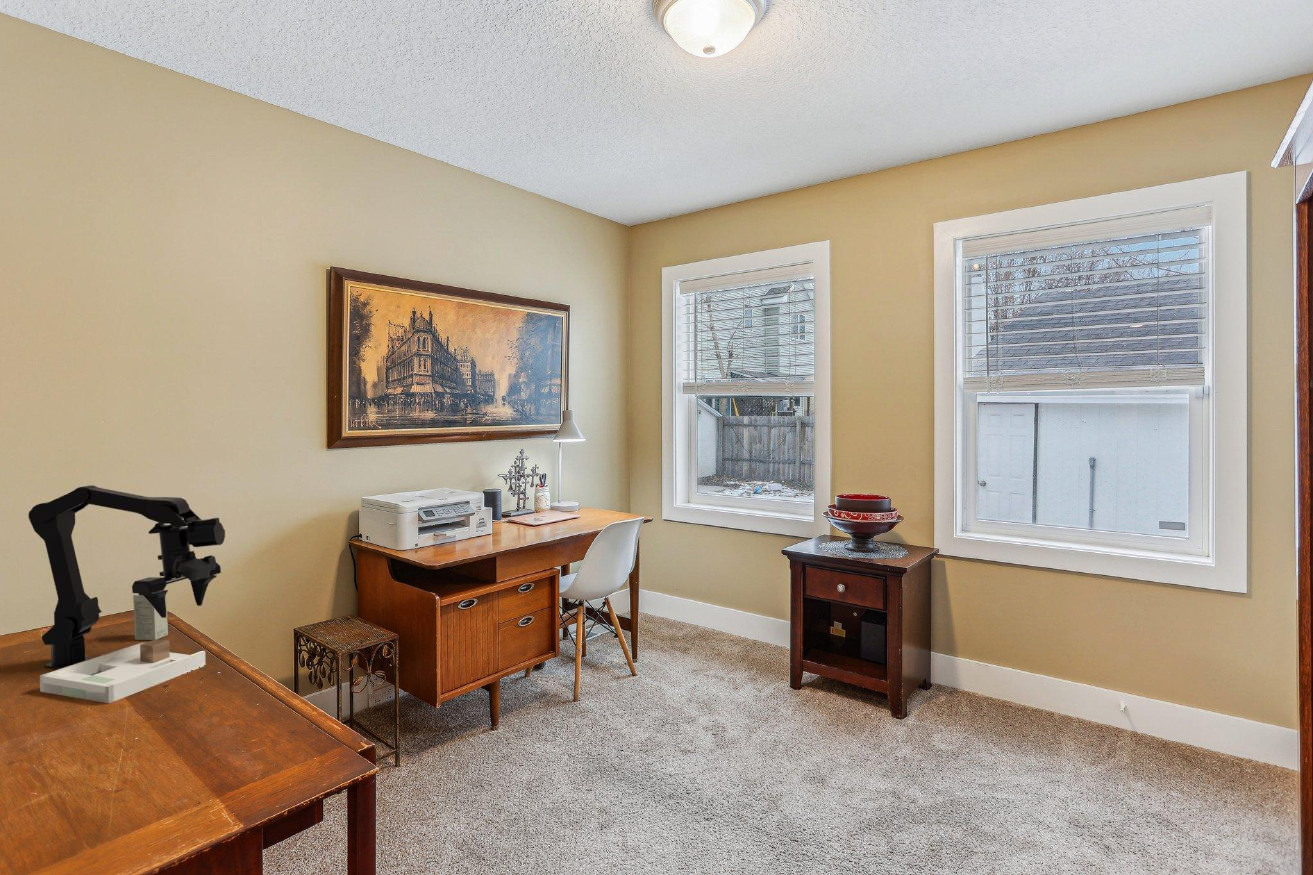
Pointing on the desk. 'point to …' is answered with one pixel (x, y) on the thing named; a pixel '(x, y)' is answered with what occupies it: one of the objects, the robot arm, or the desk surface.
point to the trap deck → (117, 675)
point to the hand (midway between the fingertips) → (182, 611)
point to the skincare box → (148, 620)
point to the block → (154, 651)
